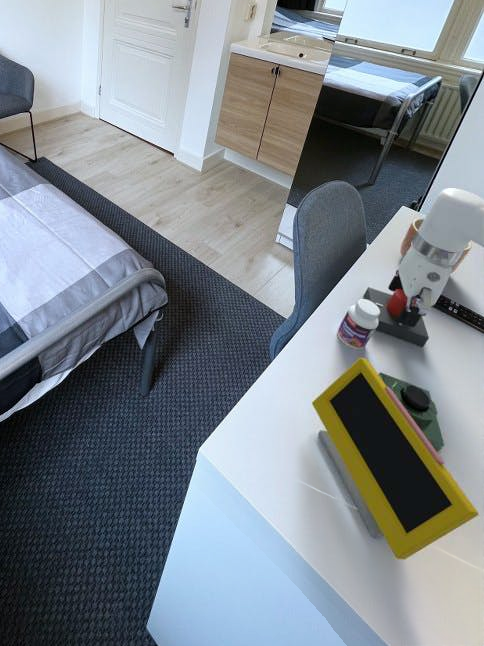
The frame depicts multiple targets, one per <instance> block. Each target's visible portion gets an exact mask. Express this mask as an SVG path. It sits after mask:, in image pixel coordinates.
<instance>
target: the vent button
mask: <svg viewBox="0 0 484 646" xmlns="http://www.w3.org/2000/svg"><path fill="white" fill-rule="evenodd" d="M413 385H414V384H412V385H409V386H407V387H406V388H405V389H404V391H403V392H402V398H403V400H404V402H405V403H406V404H407V405H408V406H410V407H411V408H412V409H414V410H416V411H420V412H422V411H425V410H426V408H427V407H428V406H429V404H430V399H429V397H428V396H427V394H426V393H425V392H424V391H422V390H421V389H420V388H421V387H420V388H418V387H419V386H417V385H415V386H413ZM416 386H417V387H416Z"/></svg>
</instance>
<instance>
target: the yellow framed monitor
mask: <svg viewBox="0 0 484 646" xmlns="http://www.w3.org/2000/svg"><path fill="white" fill-rule="evenodd" d="M378 374H379V373H378V372H377V371H376V369H375V368H374V366H372V364H371V362H370V361H369V360H368V359H367V358H363V357H359V358H358V359H357V360H356V361H355V362H354V363H353V364H352V365H350V366H349V368H347V369H346V370H345V371H344V372H342V374H340V375H339V377H338V378H336V380H334V381H333V382H332V383H331V384H330V385H329V386H328V387H327V388H326V389H325V390H324V391H323V392H321V394H319V396H317V397H316V398H315V399H314V400H313V401H312V402H311V405H312V406H313V408H314V410H315V412H316V414H317V416H318V417H319V419H320V421H321V423H322V425H323V427H324V428H325V430H323V429H320V430H319V431H318V436H319V438H320V440H321V442H322V444H323V445H324V447H325V450H326V452H327V453H328V456H329V458H330V459H331V461H332V462H333V465H334V466H335V468H336V470H337V472H338V474H339V476H340V479H341V480H342V482H343V484H344V486H345V487H346V490H347V491H348V493H349V496H350V497H351V499H352V501H353V503H354V504H355V507H356V508H357V510H358V512H359V514H360V516H361V518H362V520H363V523H365V526H366V528H367V529H368V531H369V533H370V535H371V538H373V539H376V538H379V537H380V536H382V535H383V537H384V538H385V540H386V542H387V544H388V546H389V548H390V550H391V552H392V554H393V555H394V557H395V559H397V560H406V559H408V558H410V557H411V556H413V555H414V554H416V553H418V552H420V551H421V550H423V549H424V548H427V547H428V546H430V545H431V544H432V543H434V542H436V541H438V540H439V539H441V538H443V537H444V536H447V535H448V534H450V533H451V532H453V531H455V530H456V529H458V528H460V527H461V526H463V525H464V524H466V523H468V522H470V521H471V520H473V519H475V518H477V517H478V516H479V511H478V510H477V509H476V508H475V506H474V505H473V503H472V502H471V501H470V499H469V498H468V497H467V495H466V494H465V492H464V491H463V490H462V488H461V487H460V486H459V484H458V483H457V482H456V480H455V479H454V477H453V476H452V474H451V473H450V472H449V470H448V469H447V468H446V466H445V465H444V463H445V462H444V459H442V457H441V455H440V454H439V453H438V452H437V451H436V450H435V449H434V447H433V446H432V445H431V443H430V442H429V441H428V439H427V438H426V436H425V435H424V434H423V432H422V431H421V430H420V428H419V427H418V425H417V424H416V423H415V421H414V420H413V419H412V417H411V416H410V415H409V413H408V412H407V410H406V409H405V408H404V406H403V405H402V404H401V402H400V401H399V399H398V398H397V397H396V395H395V394H394V393H393V391H392V390H391V389H390V388H389V387H388V386H386V385H385V383H384V382H383V381H382V379H381V378H380V376H379V375H378Z"/></svg>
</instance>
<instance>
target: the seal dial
mask: <svg viewBox="0 0 484 646" xmlns="http://www.w3.org/2000/svg"><path fill="white" fill-rule="evenodd" d="M391 295H392V297H391V299H390V300H389V302H388V304H387V309H388V311H389V312H390V313H392V314H393V315H395V316H396V317H398V315H399V314H400V312H401V310H402V309H403V307H406V306H407V301H408V297H407V296H406V294H405V292H404V290H402V289H397V290H395V292H394V291H393V294H391ZM413 297H415V296H413ZM416 303H418V301H415V300H413V305H412V306H414V305H415V304H416Z"/></svg>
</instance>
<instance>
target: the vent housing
mask: <svg viewBox="0 0 484 646" xmlns="http://www.w3.org/2000/svg"><path fill="white" fill-rule="evenodd" d="M377 374H378V375H379V376H380V378H381V379H382V381H383V382H384V383H385V385H386V386H388V387H389V388H390V389H391V390H392V391H393V393H394V394H395V395H396V397H397V398H398V399H399V401H400V402H401V404H402V405H403V406H404V408H405V409H406V410H407V412H408V413H409V415H410V416H411V417H412V419H413V420H414V421H415V423H416V424H417V425H418V427H419V428H420V430H421V431H422V432H423V434H424V435H425V436H426V438H427V439H428V441H429V442H430V443H431V445H432V446H433V447H434V449H435V450H436V452H437V453H438V452H440V451H441V450H442V448H443V447H444V446H445V442H444V439H443V435H442V432H441V428H440V425H439V420H438V417H437V415H438V410H437V406H436V404H435V402H434V401H433V399H432V396H431V393H430V390H427V389H425V388H422V387H420V386H417V385H415V384H412V383H410V382H407V381H404V380H401V379H398V378H396V377H394V376H391V375H389V374H386V373H383V372H381V371H380V372H379V373H377ZM409 385H413V386H416V387H418V388H420V389H421V390H422V391H424V392H425V393H426V394H427V396H428V397H429V399H430V404H429V406H428V407H427V408H426V410H425V411H422V412H420V411H416V410H414V409H412V408H411V407H410V406H408V405H407V404H406V403H405V402H404V400H403V398H402V392H403V391H404V389H405V388H406V387H407V386H409Z"/></svg>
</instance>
